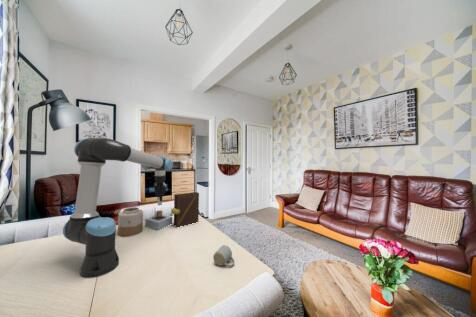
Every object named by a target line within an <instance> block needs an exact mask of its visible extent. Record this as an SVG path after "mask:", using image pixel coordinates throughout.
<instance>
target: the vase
mask: <svg viewBox="0 0 476 317" xmlns="http://www.w3.org/2000/svg"><path fill="white" fill-rule="evenodd" d="M117 217H118V218H117V235H118V236H119V237H126V238H127V237H132V236H136V235H139V234H140V233H141V232H143V226H144V223H143V222H144V211H143V209H140V208H139V207H136V206H132V207H127V208H123V209H122V211H120V212H118V215H117Z"/></svg>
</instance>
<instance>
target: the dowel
mask: <svg viewBox="0 0 476 317" xmlns="http://www.w3.org/2000/svg"><path fill="white" fill-rule="evenodd" d="M155 213H156V214H155V216H156V219H160V218H162V215H163V210H156V212H155Z"/></svg>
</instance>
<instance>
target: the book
mask: <svg viewBox="0 0 476 317" xmlns="http://www.w3.org/2000/svg"><path fill="white" fill-rule="evenodd" d="M173 197H174V198H173V208H171V214H172V215H173V226H174V225H176V226H175V228H176V227H179V228H181V227H180V226H183V227H185V226H184V225H187V226H189V225H188V224H192V223H196V222H198V223H199V210H200V209H199V207H200V206H199V205H200V193H199V192H197V191H194V192H185V193H177V194H174V196H173ZM196 224H197V223H196ZM192 225H193V224H192Z"/></svg>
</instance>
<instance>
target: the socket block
mask: <svg viewBox="0 0 476 317" xmlns="http://www.w3.org/2000/svg"><path fill="white" fill-rule="evenodd" d="M170 224H172V225H173V216H169V215H165V214H162V218H160V219H156V215H154V216H150V217H148V218H145V219H144V227H145V228H147V227H148V228H147V229H150V228H151V230H154V229H155V230H154V231H157V230H158V231H160V229H161V230H162V228H163V229H165V228H167V227H169V226H168V225H170ZM166 226H167V227H166ZM170 226H171V225H170ZM164 227H165V228H164Z"/></svg>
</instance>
